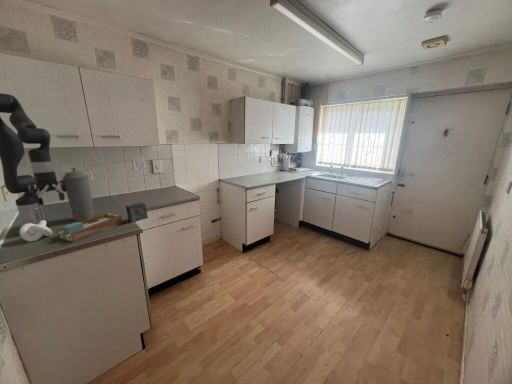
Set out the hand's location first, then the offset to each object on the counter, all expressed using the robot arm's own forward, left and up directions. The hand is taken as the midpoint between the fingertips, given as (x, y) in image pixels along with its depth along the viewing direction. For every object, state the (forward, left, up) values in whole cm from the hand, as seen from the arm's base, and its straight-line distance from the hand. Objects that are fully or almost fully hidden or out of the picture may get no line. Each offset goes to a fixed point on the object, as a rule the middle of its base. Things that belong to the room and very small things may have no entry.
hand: (52, 202), depth 105 cm
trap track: (-1, +16, -22) cm, 27 cm away
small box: (+9, +38, -22) cm, 45 cm away
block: (-1, +7, -19) cm, 20 cm away
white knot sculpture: (-17, -2, -22) cm, 28 cm away
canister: (-26, +25, -22) cm, 42 cm away
